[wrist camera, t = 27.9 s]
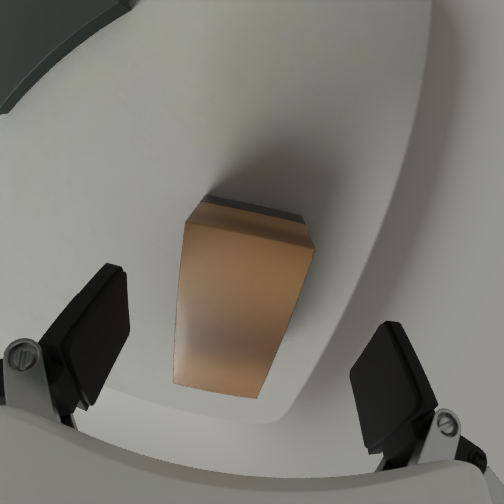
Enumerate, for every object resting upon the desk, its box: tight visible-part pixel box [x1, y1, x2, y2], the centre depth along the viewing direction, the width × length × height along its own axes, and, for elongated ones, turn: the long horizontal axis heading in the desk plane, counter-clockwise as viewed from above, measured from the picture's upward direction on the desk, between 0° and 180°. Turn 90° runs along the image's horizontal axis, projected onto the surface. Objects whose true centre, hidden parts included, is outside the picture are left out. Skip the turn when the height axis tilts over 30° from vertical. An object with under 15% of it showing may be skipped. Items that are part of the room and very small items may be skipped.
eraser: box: [173, 195, 315, 399], centre depth 14 cm, size 10×5×4 cm, turn 168°
